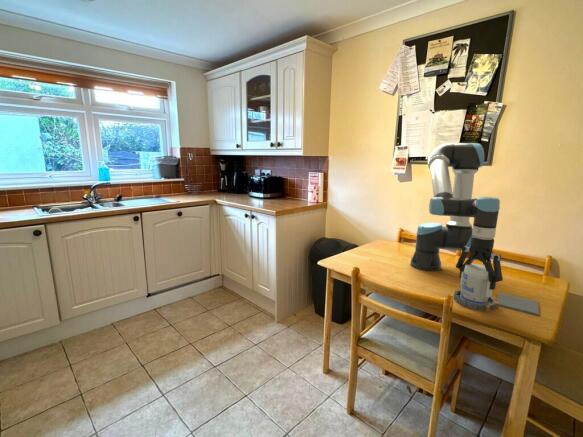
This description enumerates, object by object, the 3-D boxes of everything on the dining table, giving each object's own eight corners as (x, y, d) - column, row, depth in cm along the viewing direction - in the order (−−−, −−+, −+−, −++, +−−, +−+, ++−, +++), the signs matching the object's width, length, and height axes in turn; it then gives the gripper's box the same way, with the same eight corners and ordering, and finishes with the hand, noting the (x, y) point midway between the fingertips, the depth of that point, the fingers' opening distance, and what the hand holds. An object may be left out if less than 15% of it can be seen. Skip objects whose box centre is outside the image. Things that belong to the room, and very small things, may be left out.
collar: (451, 303, 118) (451, 298, 118) (457, 291, 129) (457, 286, 129) (496, 315, 109) (497, 310, 109) (498, 301, 120) (499, 296, 120)
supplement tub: (454, 298, 122) (458, 264, 119) (469, 294, 126) (474, 261, 123) (477, 309, 113) (482, 273, 111) (493, 304, 117) (498, 269, 114)
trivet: (496, 305, 117) (496, 303, 117) (498, 293, 127) (498, 292, 127) (538, 315, 109) (539, 314, 109) (537, 302, 120) (537, 301, 119)
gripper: (450, 231, 122) (443, 282, 127) (508, 245, 103) (499, 305, 107) (461, 230, 126) (455, 279, 130) (520, 243, 106) (510, 301, 111)
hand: (475, 291), depth 119 cm, fingers closed on supplement tub, 10 cm apart
